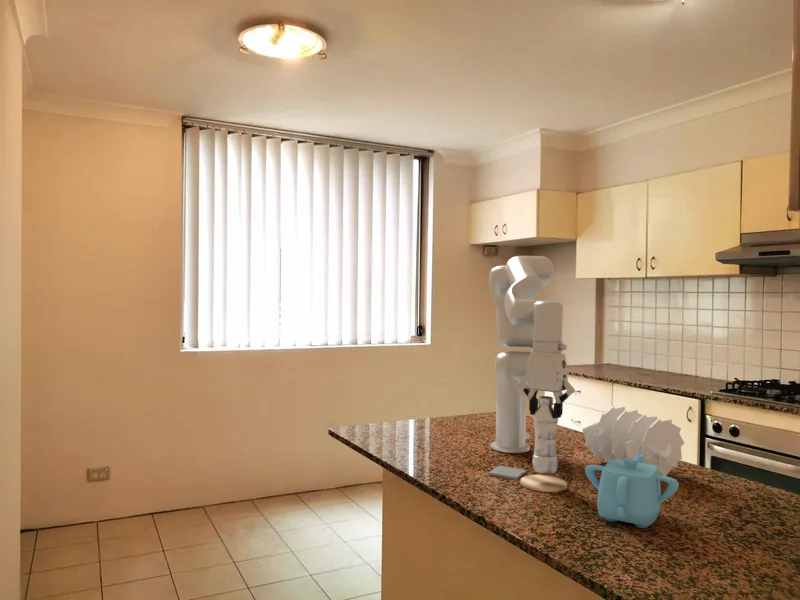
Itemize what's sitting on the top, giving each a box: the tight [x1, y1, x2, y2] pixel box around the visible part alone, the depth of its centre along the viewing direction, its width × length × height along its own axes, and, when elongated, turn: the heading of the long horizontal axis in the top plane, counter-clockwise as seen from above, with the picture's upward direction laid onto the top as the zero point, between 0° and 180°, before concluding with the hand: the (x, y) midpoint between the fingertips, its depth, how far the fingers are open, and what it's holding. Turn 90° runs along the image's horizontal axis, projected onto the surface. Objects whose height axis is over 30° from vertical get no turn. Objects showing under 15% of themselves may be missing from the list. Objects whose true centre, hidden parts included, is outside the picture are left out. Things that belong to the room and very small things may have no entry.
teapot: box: [584, 453, 680, 529], centre depth 138 cm, size 18×16×14 cm
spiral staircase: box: [582, 406, 685, 477], centre depth 175 cm, size 18×18×25 cm
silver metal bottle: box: [531, 395, 559, 475], centre depth 160 cm, size 6×7×20 cm
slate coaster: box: [488, 465, 527, 481], centre depth 169 cm, size 8×8×1 cm
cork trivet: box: [520, 474, 568, 493], centre depth 160 cm, size 12×12×1 cm
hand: (545, 415), depth 160 cm, fingers closed on silver metal bottle, 6 cm apart
